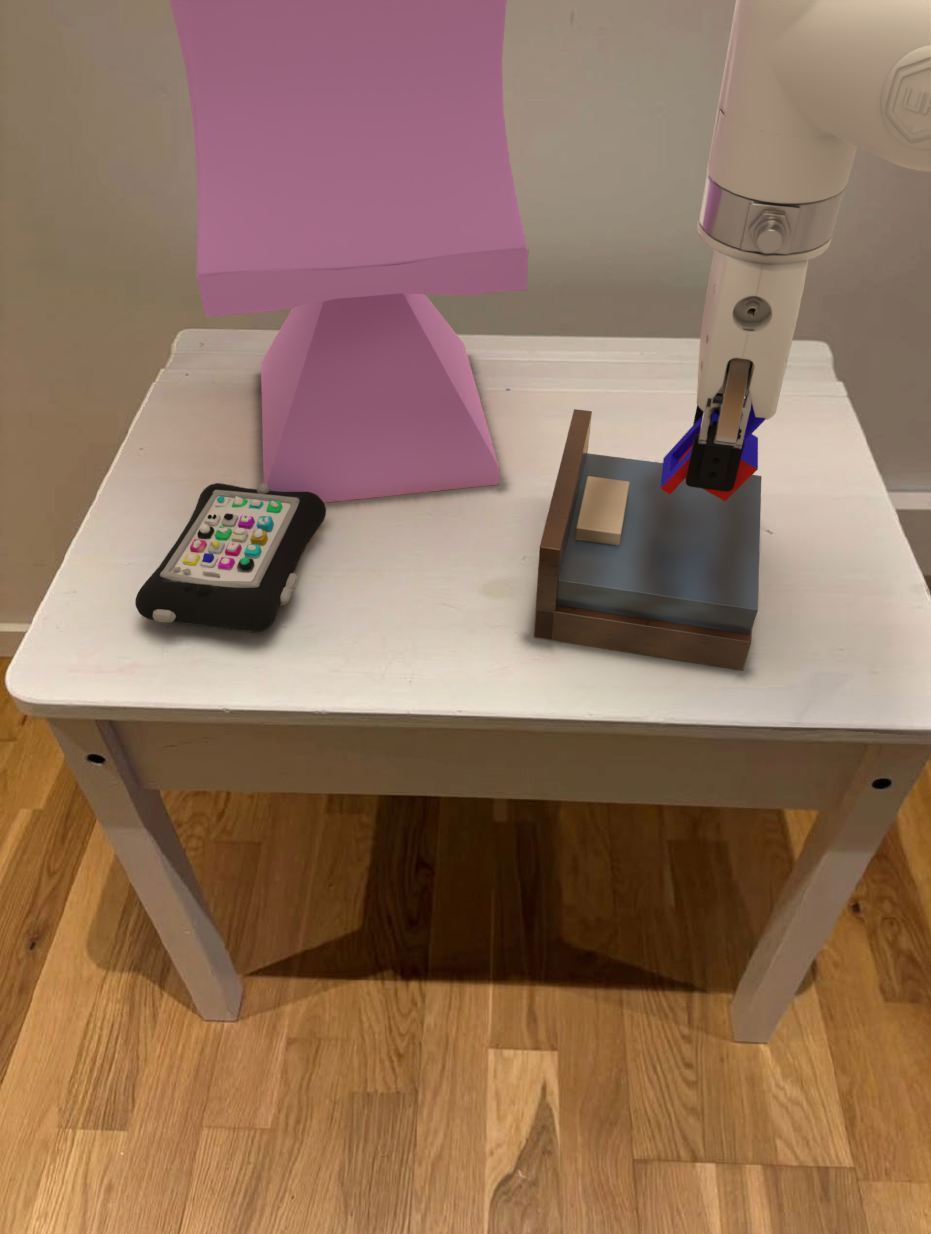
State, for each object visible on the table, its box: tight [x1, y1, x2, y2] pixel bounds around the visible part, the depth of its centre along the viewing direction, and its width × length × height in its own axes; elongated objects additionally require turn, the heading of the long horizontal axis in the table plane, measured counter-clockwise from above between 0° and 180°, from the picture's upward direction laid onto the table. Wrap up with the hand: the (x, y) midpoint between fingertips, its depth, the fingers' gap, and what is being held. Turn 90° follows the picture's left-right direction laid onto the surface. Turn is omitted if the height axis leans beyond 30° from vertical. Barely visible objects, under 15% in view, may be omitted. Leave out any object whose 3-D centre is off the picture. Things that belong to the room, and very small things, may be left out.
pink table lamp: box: [168, 0, 529, 504], centre depth 73 cm, size 22×22×45 cm
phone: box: [134, 482, 327, 634], centre depth 75 cm, size 11×15×4 cm
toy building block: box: [660, 404, 767, 501], centre depth 68 cm, size 4×4×8 cm
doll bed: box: [533, 408, 762, 671], centre depth 73 cm, size 15×16×9 cm
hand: (710, 464), depth 69 cm, fingers closed on toy building block, 3 cm apart
